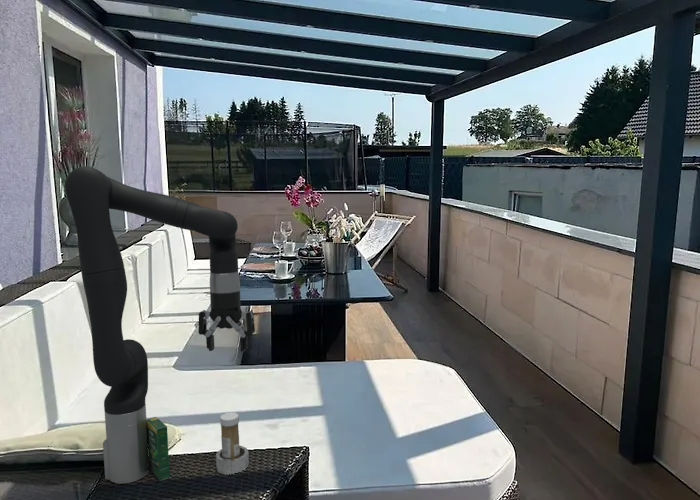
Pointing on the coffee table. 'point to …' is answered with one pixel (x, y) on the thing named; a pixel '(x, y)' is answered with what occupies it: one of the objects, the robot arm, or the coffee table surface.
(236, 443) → the sprinkles bottle
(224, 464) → the aluminium ring
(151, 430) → the coffee box
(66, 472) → the coffee table surface
